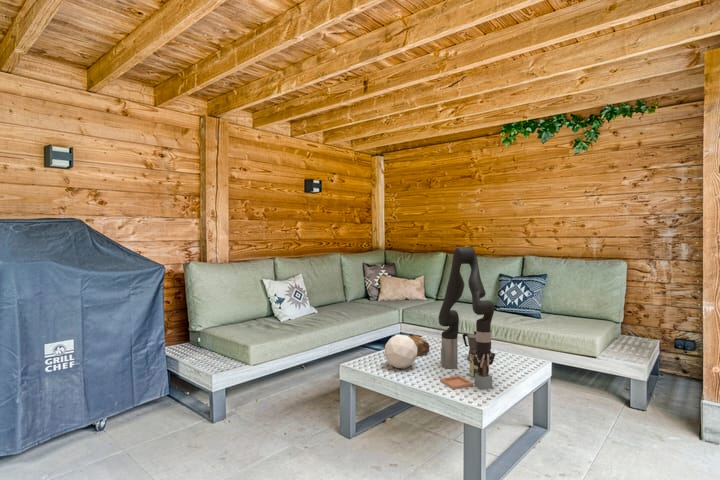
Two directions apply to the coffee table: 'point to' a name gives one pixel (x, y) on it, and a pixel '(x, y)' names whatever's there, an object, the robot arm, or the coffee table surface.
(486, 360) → the dowel
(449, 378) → the tray
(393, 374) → the coffee table surface
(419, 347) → the petrified wood
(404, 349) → the geometric orb
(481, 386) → the holder
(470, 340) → the coffeepot
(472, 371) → the coffee can
